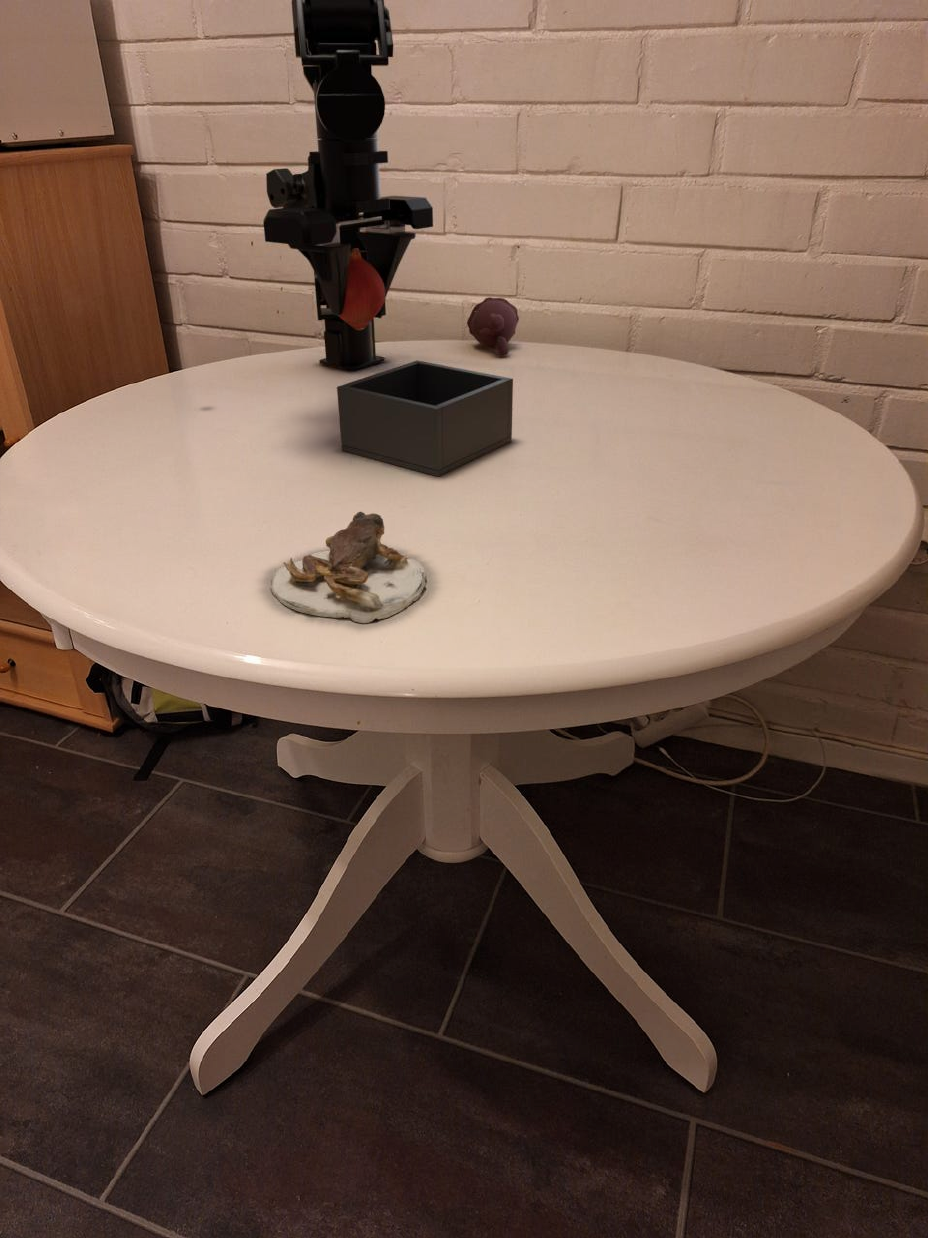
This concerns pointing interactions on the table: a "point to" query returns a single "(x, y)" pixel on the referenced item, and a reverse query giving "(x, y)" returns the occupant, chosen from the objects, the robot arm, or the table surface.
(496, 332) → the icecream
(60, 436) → the table surface
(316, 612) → the frog figurine
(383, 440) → the bin
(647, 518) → the table surface
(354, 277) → the onion
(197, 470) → the table surface
